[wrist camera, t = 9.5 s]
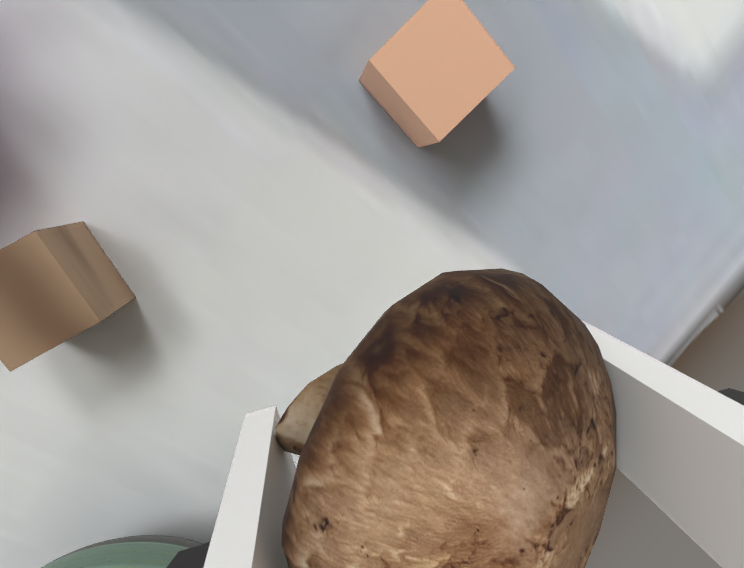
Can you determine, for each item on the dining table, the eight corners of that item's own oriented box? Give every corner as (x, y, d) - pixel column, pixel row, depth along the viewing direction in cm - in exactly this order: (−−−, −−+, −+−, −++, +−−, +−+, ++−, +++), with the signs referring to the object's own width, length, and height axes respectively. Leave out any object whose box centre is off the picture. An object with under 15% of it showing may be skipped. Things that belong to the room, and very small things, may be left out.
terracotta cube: (417, 147, 29) (439, 141, 24) (358, 80, 28) (368, 60, 23) (480, 86, 29) (515, 67, 24) (423, 15, 27) (447, -19, 23)
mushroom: (98, 518, 9) (317, 868, 4) (324, 172, 11) (620, 185, 7) (348, 574, 14) (557, 759, 10) (467, 335, 16) (681, 400, 12)
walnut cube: (60, 338, 29) (9, 371, 24) (5, 264, 27) (-61, 283, 23) (136, 297, 29) (100, 321, 24) (83, 221, 27) (35, 231, 23)
